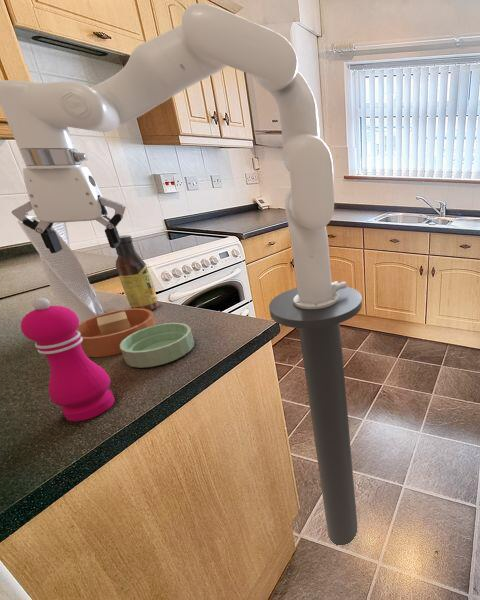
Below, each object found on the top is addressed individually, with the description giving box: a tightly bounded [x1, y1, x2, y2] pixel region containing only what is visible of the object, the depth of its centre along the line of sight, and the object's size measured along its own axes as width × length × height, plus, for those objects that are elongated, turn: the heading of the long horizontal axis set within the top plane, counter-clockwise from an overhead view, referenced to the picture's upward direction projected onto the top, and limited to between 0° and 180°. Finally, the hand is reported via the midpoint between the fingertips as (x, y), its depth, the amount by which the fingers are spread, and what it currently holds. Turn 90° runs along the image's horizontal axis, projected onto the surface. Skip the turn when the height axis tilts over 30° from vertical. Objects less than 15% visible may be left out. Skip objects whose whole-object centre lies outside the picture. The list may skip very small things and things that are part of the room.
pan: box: [76, 308, 157, 358], centre depth 76 cm, size 14×14×4 cm
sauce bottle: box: [114, 234, 159, 312], centre depth 88 cm, size 7×6×20 cm
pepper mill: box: [20, 297, 116, 423], centre depth 52 cm, size 7×7×20 cm
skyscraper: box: [17, 215, 106, 323], centre depth 79 cm, size 8×8×28 cm
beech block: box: [97, 311, 131, 336], centre depth 75 cm, size 5×5×5 cm
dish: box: [120, 322, 195, 368], centre depth 71 cm, size 12×12×4 cm
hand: (87, 249), depth 70 cm, fingers open, 9 cm apart
